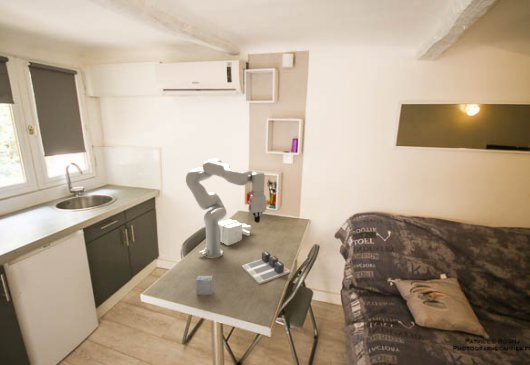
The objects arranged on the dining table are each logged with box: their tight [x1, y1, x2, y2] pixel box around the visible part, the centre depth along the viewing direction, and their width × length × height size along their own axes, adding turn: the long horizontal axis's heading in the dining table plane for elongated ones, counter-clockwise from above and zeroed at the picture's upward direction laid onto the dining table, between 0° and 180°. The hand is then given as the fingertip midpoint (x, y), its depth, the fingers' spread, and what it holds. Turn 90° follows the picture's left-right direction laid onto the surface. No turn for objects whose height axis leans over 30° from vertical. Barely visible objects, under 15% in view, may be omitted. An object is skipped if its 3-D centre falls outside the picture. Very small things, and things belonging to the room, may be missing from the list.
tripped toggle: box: [269, 255, 279, 267], centre depth 156 cm, size 4×4×5 cm
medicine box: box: [195, 275, 214, 296], centre depth 131 cm, size 8×4×9 cm, turn 92°
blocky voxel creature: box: [218, 218, 252, 246], centre depth 194 cm, size 15×25×28 cm
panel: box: [241, 250, 291, 285], centre depth 153 cm, size 22×20×6 cm
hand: (257, 221), depth 152 cm, fingers closed
